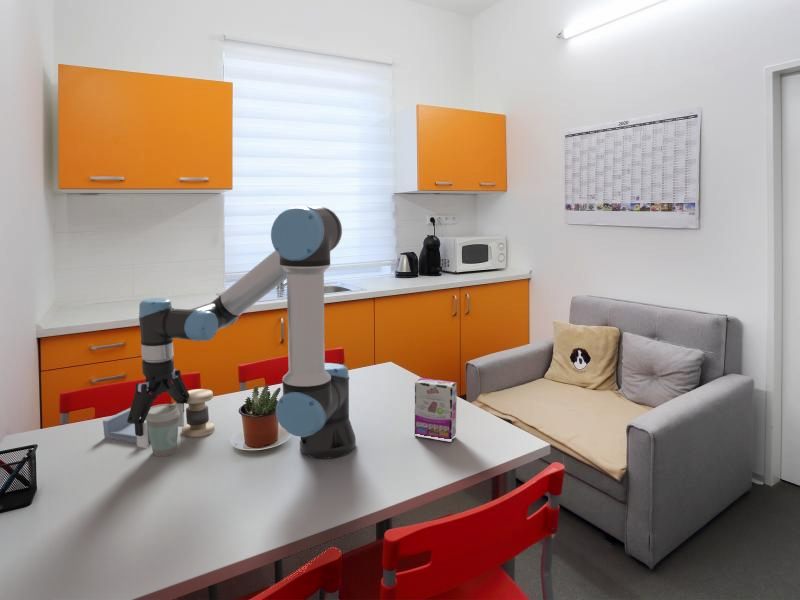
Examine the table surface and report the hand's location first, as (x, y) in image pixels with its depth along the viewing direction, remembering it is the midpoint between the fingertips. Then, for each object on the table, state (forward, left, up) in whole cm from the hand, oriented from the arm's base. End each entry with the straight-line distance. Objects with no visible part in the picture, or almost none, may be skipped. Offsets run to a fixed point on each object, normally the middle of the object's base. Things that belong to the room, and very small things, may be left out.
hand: (161, 436), depth 144 cm
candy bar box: (-67, -31, -5) cm, 74 cm away
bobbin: (0, -14, -5) cm, 15 cm away
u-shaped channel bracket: (+15, -7, -5) cm, 17 cm away
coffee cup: (0, 0, -5) cm, 5 cm away
